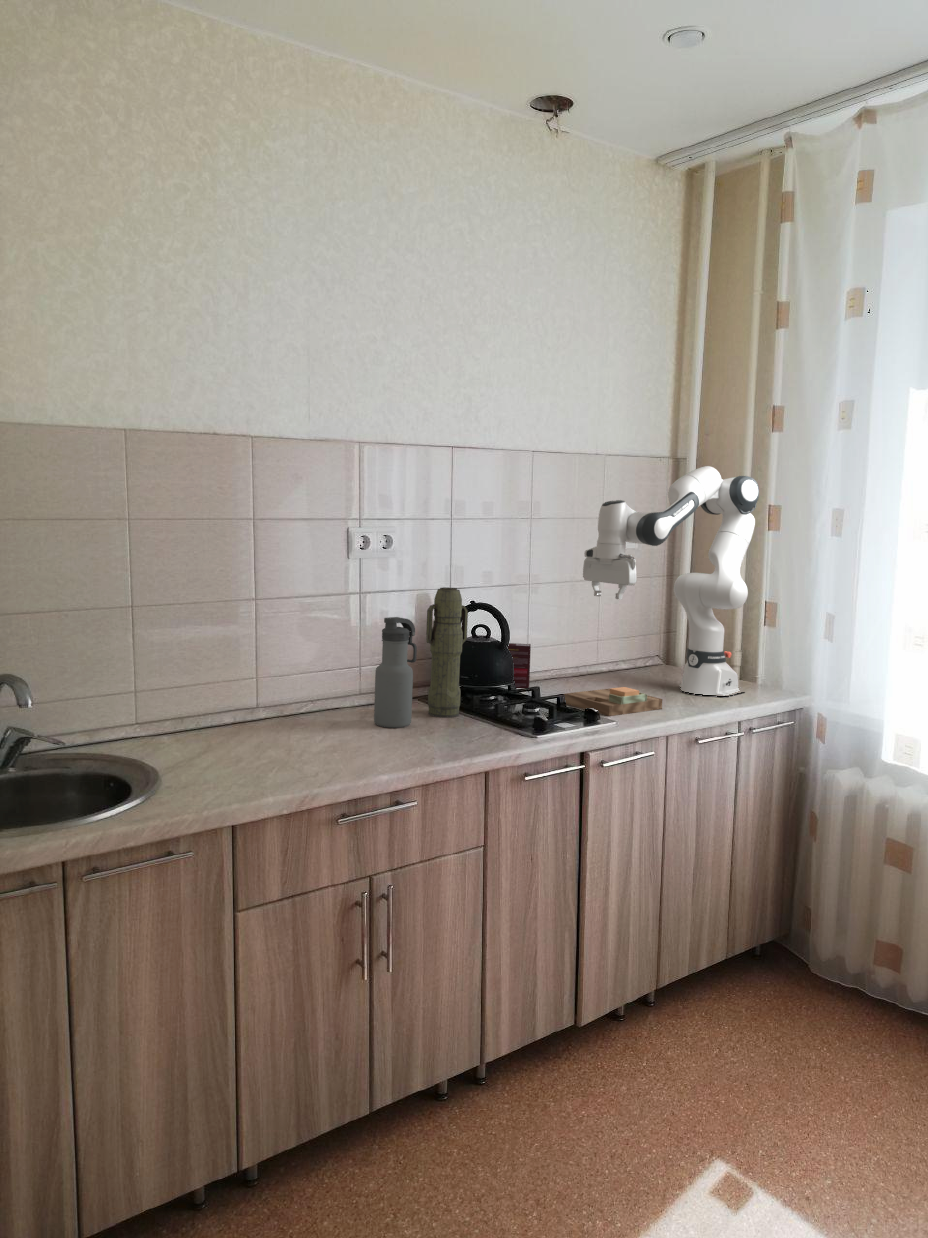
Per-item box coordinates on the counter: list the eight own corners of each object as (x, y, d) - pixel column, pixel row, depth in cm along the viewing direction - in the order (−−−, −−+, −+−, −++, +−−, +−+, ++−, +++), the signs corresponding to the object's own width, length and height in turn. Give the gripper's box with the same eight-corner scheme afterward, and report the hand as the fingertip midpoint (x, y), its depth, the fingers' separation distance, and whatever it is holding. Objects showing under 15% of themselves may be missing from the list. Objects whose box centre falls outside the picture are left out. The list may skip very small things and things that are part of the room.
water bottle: (395, 718, 249) (399, 614, 246) (420, 725, 242) (423, 619, 239) (366, 723, 242) (369, 616, 239) (390, 730, 235) (393, 621, 232)
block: (623, 697, 275) (624, 686, 274) (638, 701, 270) (639, 690, 269) (609, 699, 271) (609, 688, 271) (624, 703, 266) (624, 692, 266)
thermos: (470, 715, 256) (475, 589, 252) (435, 719, 249) (439, 590, 245) (452, 708, 263) (457, 586, 259) (417, 712, 257) (421, 587, 252)
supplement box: (529, 693, 290) (531, 643, 288) (528, 696, 285) (531, 645, 283) (501, 692, 291) (503, 642, 289) (500, 695, 286) (502, 644, 284)
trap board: (615, 697, 290) (616, 681, 290) (661, 709, 275) (662, 692, 274) (563, 703, 277) (564, 687, 277) (608, 716, 262) (609, 698, 262)
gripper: (642, 555, 279) (639, 600, 281) (595, 551, 295) (592, 594, 297) (628, 555, 275) (625, 601, 277) (580, 551, 292) (578, 594, 293)
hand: (608, 597), depth 287 cm, fingers open, 8 cm apart
